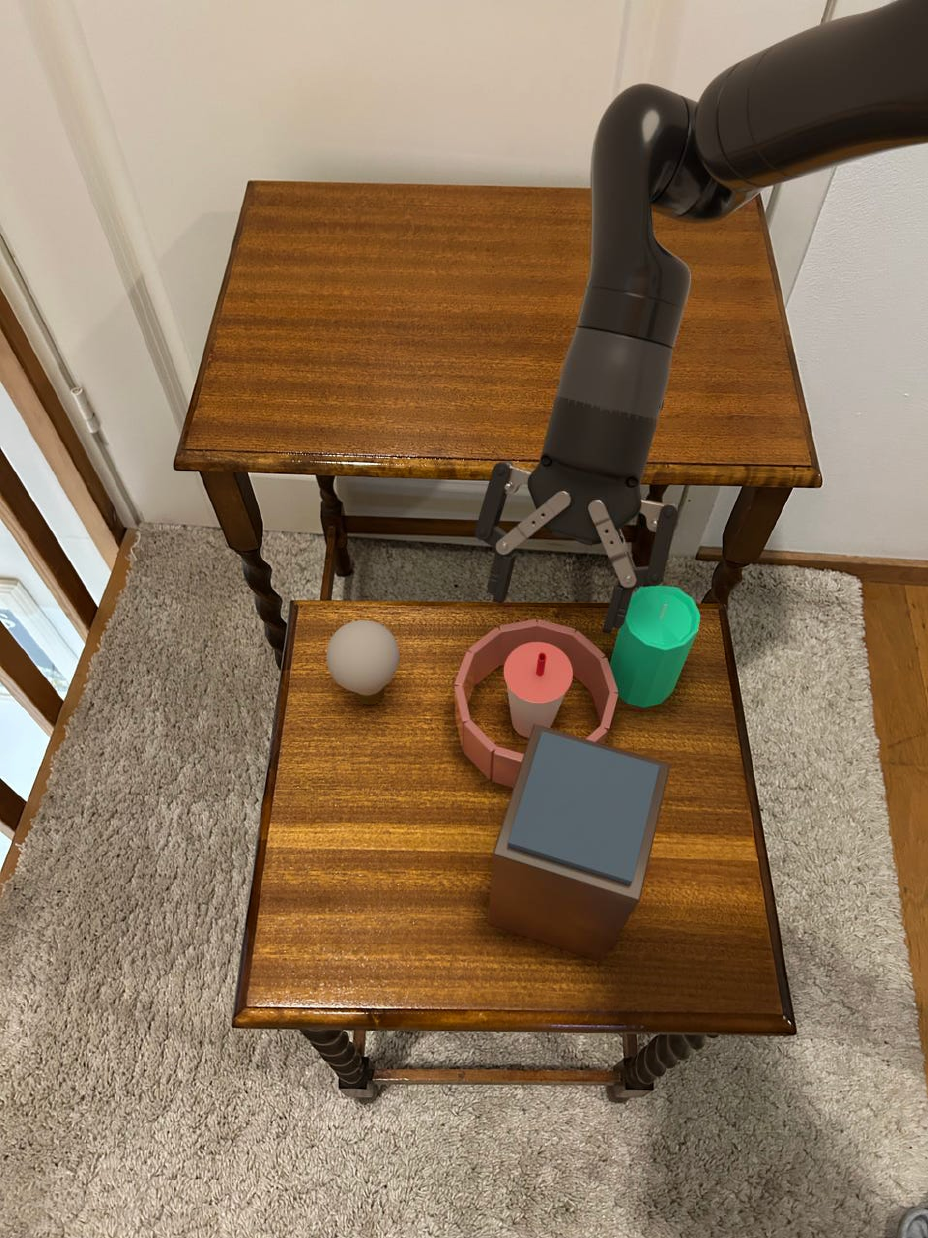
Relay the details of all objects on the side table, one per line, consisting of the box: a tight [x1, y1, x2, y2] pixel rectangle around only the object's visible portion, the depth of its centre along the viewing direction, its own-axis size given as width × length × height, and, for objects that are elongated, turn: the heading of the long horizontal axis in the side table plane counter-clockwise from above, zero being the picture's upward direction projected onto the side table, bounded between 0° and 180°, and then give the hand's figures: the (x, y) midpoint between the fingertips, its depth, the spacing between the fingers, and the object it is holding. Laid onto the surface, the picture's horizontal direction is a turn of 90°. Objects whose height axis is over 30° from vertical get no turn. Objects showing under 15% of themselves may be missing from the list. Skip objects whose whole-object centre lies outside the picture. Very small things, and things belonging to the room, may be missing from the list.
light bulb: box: [325, 619, 401, 705], centre depth 77 cm, size 6×6×10 cm
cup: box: [503, 642, 574, 739], centre depth 75 cm, size 5×5×12 cm
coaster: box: [507, 731, 660, 885], centre depth 57 cm, size 8×8×1 cm
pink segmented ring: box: [453, 618, 619, 789], centre depth 78 cm, size 13×13×6 cm
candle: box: [609, 585, 701, 709], centre depth 77 cm, size 6×6×12 cm
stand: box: [487, 724, 671, 963], centre depth 65 cm, size 9×9×18 cm
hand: (552, 616), depth 71 cm, fingers open, 8 cm apart
